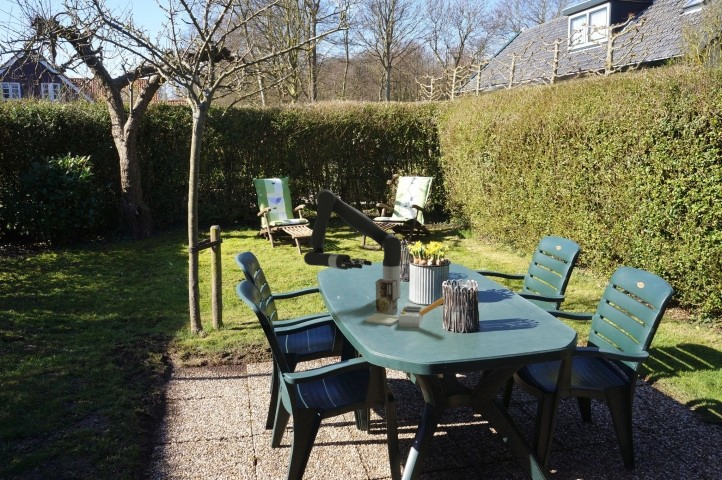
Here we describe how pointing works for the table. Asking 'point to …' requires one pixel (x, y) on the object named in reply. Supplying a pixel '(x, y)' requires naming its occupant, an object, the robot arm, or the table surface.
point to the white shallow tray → (383, 319)
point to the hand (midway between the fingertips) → (366, 264)
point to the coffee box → (386, 296)
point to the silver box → (410, 316)
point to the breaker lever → (432, 306)
